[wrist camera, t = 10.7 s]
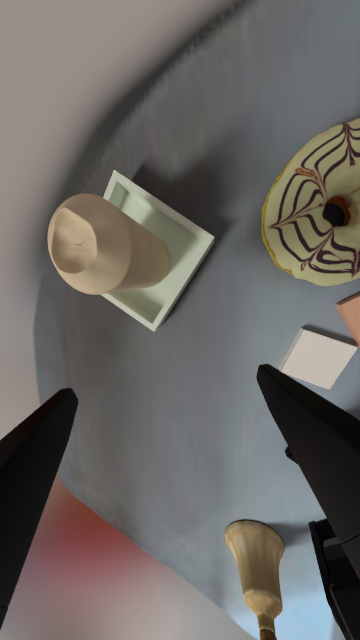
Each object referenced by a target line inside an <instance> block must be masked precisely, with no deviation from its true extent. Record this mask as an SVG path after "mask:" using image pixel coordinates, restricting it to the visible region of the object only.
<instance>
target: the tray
mask: <svg viewBox="0 0 360 640" xmlns="http://www.w3.org/2000/svg"><path fill="white" fill-rule="evenodd" d="M103 198H104V199H106V200H107V201H109V202H110V203H111V204H113V205H114V206H116V207H117V208H118V209H120V210H121V211H122V212H124V213H125V214H127V215H128V216H129V217H131V218H132V219H133V220H135V221H136V222H138V223H139V224H140V225H142V226H143V227H144V228H146V229H147V230H148V231H150V232H151V233H153V234H154V235H155V236H157V237H158V238H159V239H160V240H161V241H162V242H163V244H164V245H165V247H166V249H167V251H168V255H169V268H168V271H167V274H166V275H165V277H164V278H163V280H162V281H161V282H159V283H158V284H156V285H155V286H152V287H148V288H142V289H135V290H127V291H120V292H113V293H105V294H101V295H102V296H103V297H105V298H106V299H108V300H109V301H111V302H112V303H113V304H115V305H116V306H118V307H119V308H121V309H122V310H124V311H125V312H126V313H128V314H129V315H131V316H132V317H134V318H135V319H136V320H138V321H139V322H141V323H142V324H144V325H145V326H147V327H148V328H149V329H151V330H152V331H154V332H155V331H156V330H157V329H158V328H159V327H160V326H161V325H162V324H163V322H164V321H165V319H166V317H167V316H168V314H169V313H170V311H171V310H172V308H173V307H174V305H175V303H176V302H177V300H178V299H179V297H180V296H181V294H182V293H183V291H184V289H185V288H186V286H187V285H188V283H189V282H190V280H191V279H192V277H193V275H194V274H195V272H196V271H197V269H198V268H199V266H200V265H201V263H202V261H203V260H204V258H205V257H206V255H207V254H208V252H209V251H210V249H211V247H212V246H213V244H214V243H215V241H214V236H212V235H211V234H209V233H208V232H206V231H205V230H203V229H202V228H200V227H199V226H197V225H196V224H194V223H193V222H191V221H190V220H188V219H187V218H185V217H184V216H182V215H181V214H179V213H178V212H176V211H175V210H173V209H172V208H170V207H169V206H167V205H166V204H164V203H163V202H161V201H160V200H158V199H157V198H155V197H154V196H152V195H151V194H149V193H148V192H146V191H145V190H143V189H142V188H141V187H139V186H138V185H136V184H135V183H133V182H132V181H130V180H129V179H127V178H126V177H124V176H123V175H121V174H120V173H118V172H117V171H115V170H114V171H113V174H112V176H111V179H110V181H109V184H108V187H107V189H106V192H105V194H104V197H103Z"/></svg>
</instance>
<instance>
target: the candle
mask: <svg viewBox="0 0 360 640" xmlns="http://www.w3.org/2000/svg"><path fill="white" fill-rule="evenodd" d="M48 248H49V253H50V256H51V259H52V261H53V263H54V265H55V267H56V269H57V271H58V272H59V274H60V275H61V276H62V278H63V279H64V280H65V281H66V282H67V283H68V284H69V285H71V286H72V287H73V288H75V289H77V290H78V291H81V292H83V293H87V294H94V295H95V294H105V293H113V292H120V291H127V290H135V289H142V288H148V287H152V286H155V285H156V284H158V283H159V282H161V281H162V280H163V278H164V277H165V275H166V274H167V271H168V268H169V255H168V251H167V249H166V247H165V245H164V244H163V242H162V241H161V240H160V239H159V238H158V237H157V236H155V235H154V234H153V233H151V232H150V231H148V230H147V229H146V228H144V227H143V226H142V225H140V224H139V223H138V222H136V221H135V220H133V219H132V218H131V217H129V216H128V215H127V214H125V213H124V212H122V211H121V210H120V209H118V208H117V207H116V206H114V205H113V204H111V203H110V202H109V201H107V200H106V199H104V198H102V197H100V196H97V195H93V194H79V195H75V196H73V197H71V198H69V199H67V200H66V201H65V202H64V203H62V204H61V205H60V207H59V208H58V209H57V210H56V212H55V213H54V215H53V217H52V219H51V222H50V225H49V230H48Z"/></svg>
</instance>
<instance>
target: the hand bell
mask: <svg viewBox="0 0 360 640" xmlns="http://www.w3.org/2000/svg"><path fill="white" fill-rule="evenodd" d="M225 540H226V542H227V545H228V547H229V549H230V550H231V551H232V553H233V555H234V557H235V560H236V563H237V566H238V569H239V574H240V578H241V584H242V590H243V596H244V600H245V603H246V604H247V606H248V607H249V608H250V609H251V610H252V611H253V612H254V613H255V614H256V616H257V618H258V624H259V630H260V639H261V640H277V639H276V636H275V627H274V619H275V618H276V617H277V616H278V615H279V614H280V613H281V612H282V599H281V592H280V584H279V563H280V559H281V558H282V556H283V552H284V544H283V541H282V539H281V537H280V536H279V535H278V534H277V533H276V532H275V531H274V530H273V529H272V528H270V527H268V526H266V525H264V524H261V523H259V522H255V521H237V522H234V523H232V524H230V525H229V526H228V527H227V529H226V531H225Z"/></svg>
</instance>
